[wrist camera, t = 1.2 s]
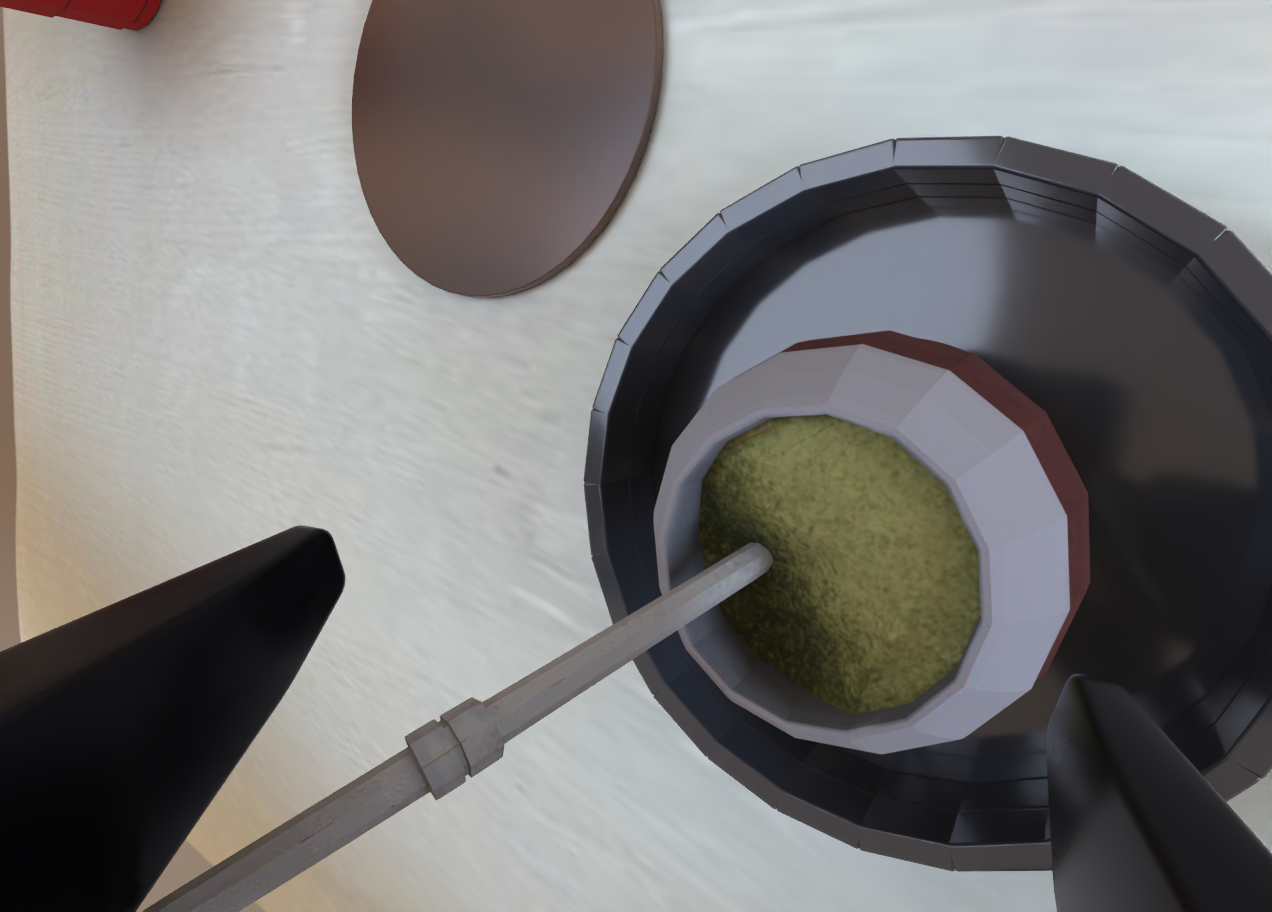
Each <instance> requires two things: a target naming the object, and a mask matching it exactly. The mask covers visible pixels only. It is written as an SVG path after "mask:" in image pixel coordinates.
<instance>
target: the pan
mask: <svg viewBox="0 0 1272 912" xmlns="http://www.w3.org/2000/svg"><path fill="white" fill-rule="evenodd" d="M888 330H890V331H894V332H897V333H901V334H904V335H908V336H911V337H915V338H921V339H926V340H932V341H937V342H940V343H944V344H947V345H951V346H954V347H956V348H959V349H961V350H964V351H967V352H969V353H972V354H975V355H977V356H978V357H979V358H980V359H981V360H983V361H984V362H985V363H986V364H988V365H989V366H990V367H991V368H992V369H994V370H995V371H996V372H997V373H999V374H1000V375H1001V376H1002V377H1003V378H1005V379H1006V380H1007V381H1008V382H1009V383H1011V384H1012V385H1013V386H1014V387H1016V388H1017V389H1018V390H1019V391H1021V392H1022V393H1023V394H1024V395H1026V396H1027V397H1028V398H1029V399H1031V400H1032V401H1033V402H1034V403H1036V404H1037V405H1038V406H1039V407H1041V408H1042V409H1043V410H1044V411H1046V413H1047V415H1048V417H1049V419H1050V421H1051V423H1052V424H1053V426H1054V428H1055V430H1056V432H1057V434H1058V436H1059V438H1060V440H1061V442H1062V444H1063V446H1064V448H1065V449H1066V451H1067V453H1068V455H1069V457H1070V459H1071V461H1072V463H1073V465H1074V467H1075V469H1076V471H1077V473H1078V475H1079V476H1080V478H1081V480H1082V482H1083V484H1084V486H1085V488H1086V490H1087V492H1088V507H1089V547H1090V584H1089V586H1088V588H1087V591H1086V593H1085V595H1084V597H1083V600H1082V602H1081V604H1080V606H1079V608H1078V610H1077V612H1076V614H1075V616H1074V618H1073V620H1072V622H1071V624H1070V626H1069V628H1068V630H1067V632H1066V634H1065V636H1064V638H1063V640H1062V642H1061V644H1060V646H1059V648H1058V650H1057V652H1056V654H1055V656H1054V658H1053V660H1052V662H1051V664H1050V666H1049V668H1048V670H1047V672H1046V673H1045V674H1044V675H1043V676H1041V677H1040V678H1038V679H1037V680H1036V681H1035V682H1034V685H1033V687H1032V689H1030V690H1029V691H1028V692H1026V693H1025V694H1024V695H1022V696H1021V697H1019V698H1018V699H1017V700H1015V701H1014V702H1013V703H1011V704H1010V705H1009V706H1007V707H1006V708H1004V709H1003V710H1002V711H1000V712H999V713H998V714H996V715H995V716H994V717H992V718H991V719H989V720H988V721H987V722H985V723H984V724H983V725H981V726H980V727H979V728H977V729H976V730H974V731H973V732H972V733H970V734H969V735H968V736H966V737H965V738H963V739H960V740H954V741H949V742H944V743H939V744H934V745H928V746H923V747H918V748H913V749H907V750H902V751H897V752H892V753H887V754H877V753H872V752H866V751H861V750H856V749H851V748H845V747H840V746H835V745H830V744H824V743H819V742H814V741H809V740H804V739H798V738H794V737H793V736H791V735H789V734H787V733H786V732H784V731H782V730H781V729H779V728H777V727H775V726H774V725H772V724H770V723H769V722H767V721H765V720H763V719H762V718H760V717H758V716H757V715H755V714H753V713H751V712H750V711H748V710H746V709H745V708H743V707H741V706H739V705H738V704H736V703H734V702H733V701H731V700H730V699H729V698H728V697H727V696H726V695H725V694H724V693H723V692H722V690H721V689H720V688H719V687H718V686H717V685H716V684H715V682H714V681H713V680H712V679H711V678H710V677H709V675H708V674H707V673H706V672H705V671H704V670H703V669H702V667H701V666H700V665H699V664H698V663H697V662H696V660H695V659H694V658H693V657H692V656H691V655H690V654H689V652H688V651H687V650H686V649H685V646H684V644H683V642H682V640H681V637H680V635H679V633H678V630H677V631H675V632H674V633H672V634H671V635H669V636H668V637H666V638H665V639H663V640H662V641H660V642H658V643H657V644H655V645H654V646H652V647H651V648H649V649H648V650H646V651H645V652H643V653H642V654H640V655H639V656H637V657H635V658H634V659H632V660H633V661H634V663H635V665H636V667H637V668H638V670H639V672H640V674H641V676H642V677H643V679H644V681H645V683H646V684H647V686H648V688H649V690H650V691H651V693H652V694H653V695H654V698H655V699H656V700H657V701H658V702H659V704H660V705H661V706H662V707H663V708H664V709H665V710H666V712H667V713H668V714H669V715H670V716H671V717H672V718H673V720H674V721H675V722H676V723H677V724H678V725H679V726H680V728H681V729H682V730H683V731H684V732H685V733H686V734H687V736H688V737H689V738H690V739H691V740H692V741H693V742H694V744H695V745H696V746H697V747H698V748H699V749H700V751H701V752H702V753H703V754H704V755H705V756H706V757H707V756H708V759H709V760H711V761H712V762H713V763H714V764H716V765H717V766H718V767H720V768H721V769H722V770H724V771H725V772H726V773H728V774H729V775H730V776H732V777H733V778H734V779H735V780H737V781H738V782H739V783H741V784H742V785H743V786H745V787H746V788H747V789H749V790H750V791H751V792H753V793H754V794H755V795H756V796H758V797H759V798H760V799H762V800H763V801H764V802H766V803H767V804H768V805H770V806H771V807H772V808H774V809H777V811H779V812H781V813H783V814H785V815H787V816H789V817H791V818H794V819H796V820H798V821H800V822H802V823H804V824H806V825H808V826H810V827H812V828H815V829H817V830H819V831H821V832H823V833H825V834H827V835H829V836H831V837H833V838H836V839H838V840H840V841H842V842H844V843H846V844H848V845H850V846H852V847H854V848H857V849H858V848H860V850H862V851H866V852H871V853H875V854H879V855H884V856H888V857H892V858H897V859H901V860H905V861H910V862H914V863H919V864H923V865H927V866H932V867H936V868H940V869H945V870H949V871H955V870H956V871H1047V870H1053V868H1052V850H1051V832H1050V814H1049V796H1048V777H1047V759H1046V733H1047V727H1048V723H1049V721H1050V718H1051V716H1052V714H1053V711H1054V709H1055V707H1056V705H1057V702H1058V700H1059V698H1060V695H1061V693H1062V691H1063V688H1064V686H1065V684H1066V682H1067V680H1068V679H1069V678H1070V677H1071V676H1072V675H1074V674H1084V675H1089V676H1095V677H1100V678H1105V679H1110V680H1114V681H1116V682H1118V683H1119V684H1121V685H1122V686H1123V687H1124V688H1125V689H1126V690H1127V691H1128V692H1129V693H1130V694H1131V695H1132V697H1133V698H1134V699H1135V700H1136V701H1137V702H1138V703H1139V704H1140V706H1141V707H1142V708H1143V709H1144V710H1145V711H1146V712H1147V713H1148V715H1149V716H1150V717H1151V718H1152V719H1153V720H1154V721H1155V723H1156V724H1157V725H1158V726H1159V727H1160V728H1161V729H1162V730H1163V732H1164V733H1165V734H1166V735H1167V736H1168V737H1169V738H1170V739H1171V741H1172V742H1173V743H1174V744H1175V745H1176V746H1177V747H1178V749H1179V750H1180V751H1181V752H1182V753H1183V754H1184V755H1185V756H1186V758H1187V759H1188V760H1189V761H1190V762H1191V763H1192V764H1193V765H1194V767H1195V768H1196V769H1197V770H1198V771H1199V772H1200V773H1201V775H1202V776H1203V777H1204V778H1205V779H1206V780H1207V781H1208V782H1209V784H1210V785H1211V786H1212V787H1213V788H1214V789H1215V790H1216V791H1217V793H1218V794H1219V795H1220V796H1221V797H1222V798H1223V799H1224V800H1225V802H1227V801H1229V800H1230V799H1232V798H1233V797H1235V796H1236V795H1238V794H1240V793H1241V792H1243V791H1244V790H1246V789H1247V788H1249V787H1251V786H1252V785H1254V784H1255V783H1257V782H1258V781H1259V780H1260V778H1264V777H1265V776H1266V775H1267V774H1268V772H1269V771H1270V770H1271V769H1272V274H1271V273H1270V272H1269V271H1268V270H1267V269H1266V268H1265V267H1264V266H1263V264H1262V263H1261V262H1260V261H1259V260H1258V259H1257V258H1256V257H1255V256H1254V255H1253V253H1252V252H1251V251H1250V250H1249V249H1248V248H1247V247H1246V246H1245V245H1244V244H1243V243H1242V241H1241V240H1240V239H1239V238H1238V237H1237V236H1236V235H1235V234H1234V233H1233V232H1232V231H1230V230H1227V227H1226V226H1225V225H1223V224H1222V223H1220V222H1218V221H1217V220H1215V219H1213V218H1211V217H1210V216H1208V215H1206V214H1205V213H1203V212H1201V211H1199V210H1198V209H1196V208H1194V207H1193V206H1191V205H1189V204H1187V203H1186V202H1184V201H1182V200H1181V199H1179V198H1177V197H1175V196H1174V195H1172V194H1170V193H1169V192H1167V191H1165V190H1163V189H1162V188H1160V187H1158V186H1156V185H1155V184H1153V183H1151V182H1150V181H1148V180H1146V179H1144V178H1143V177H1141V176H1139V175H1138V174H1136V173H1134V172H1132V171H1131V170H1129V169H1127V168H1126V167H1124V166H1120V167H1118V165H1117V164H1116V163H1112V162H1108V161H1104V160H1100V159H1096V158H1092V157H1088V156H1084V155H1080V154H1076V153H1072V152H1068V151H1064V150H1060V149H1056V148H1052V147H1048V146H1044V145H1040V144H1036V143H1032V142H1028V141H1024V140H1020V139H1016V138H1012V137H1005V138H1004V137H1002V136H970V137H922V138H898V139H896V140H895V139H889V140H886V141H882V142H879V143H875V144H872V145H868V146H865V147H861V148H858V149H854V150H851V151H847V152H844V153H840V154H837V155H833V156H830V157H826V158H822V159H819V160H815V161H812V162H808V163H805V164H801V165H800V166H797V167H795V168H793V169H791V170H790V171H788V172H786V173H784V174H783V175H781V176H779V177H778V178H776V179H774V180H772V181H771V182H769V183H767V184H766V185H764V186H762V187H760V188H759V189H757V190H755V191H753V192H752V193H750V194H748V195H747V196H745V197H743V198H741V199H740V200H738V201H736V202H735V203H733V204H731V205H729V206H728V207H726V208H724V209H722V210H721V211H720V213H718V214H717V215H715V216H714V217H713V218H712V219H711V220H710V221H709V222H708V223H707V224H706V225H705V226H704V227H703V228H702V229H701V230H700V231H699V232H698V233H697V234H696V235H695V236H694V237H693V238H692V239H691V240H690V241H689V242H688V243H687V244H686V245H685V246H683V247H682V248H681V249H680V250H679V251H678V252H677V253H676V254H675V255H674V256H673V257H672V258H671V259H670V260H669V261H668V262H667V263H666V264H665V265H664V266H663V267H662V268H661V269H660V271H659V272H658V273H657V274H656V276H655V277H654V279H653V280H652V282H651V284H650V285H649V287H648V288H647V290H646V291H645V293H644V295H643V296H642V298H641V299H640V301H639V303H638V304H637V306H636V307H635V309H634V310H633V312H632V314H631V315H630V317H629V318H628V320H627V322H626V323H625V325H624V326H623V328H622V329H621V331H620V333H619V334H618V338H617V339H616V340H615V343H614V346H613V349H612V352H611V355H610V358H609V360H608V363H607V366H606V369H605V372H604V375H603V378H602V381H601V384H600V386H599V389H598V392H597V395H596V398H595V401H594V404H593V410H592V411H591V419H590V428H589V437H588V446H587V455H586V464H585V473H584V482H585V483H584V491H585V501H586V510H587V520H588V529H589V539H590V548H591V554H592V555H593V556H592V561H593V564H594V567H595V570H596V573H597V576H598V579H599V582H600V585H601V588H602V592H603V595H604V598H605V601H606V604H607V607H608V610H609V613H610V616H611V619H612V622H613V625H614V624H615V623H617V622H619V621H620V620H622V619H624V618H625V617H627V616H629V615H630V614H632V613H634V612H635V611H637V610H639V609H640V608H642V607H644V606H645V605H647V604H649V603H650V602H652V601H654V600H655V599H657V598H659V597H660V596H662V593H661V591H660V587H659V577H658V566H657V555H656V544H655V533H654V522H653V521H654V509H655V505H656V501H657V498H658V494H659V491H660V487H661V483H662V480H663V476H664V472H665V469H666V465H667V461H668V458H669V454H670V451H671V447H672V445H673V444H674V442H675V441H676V440H677V439H678V437H679V436H680V435H681V433H682V432H683V431H684V429H685V428H686V427H687V426H688V424H689V423H690V422H691V420H692V419H693V418H694V416H695V415H696V414H697V413H698V411H699V410H700V409H701V407H702V406H703V405H704V403H705V402H706V401H707V400H708V398H709V397H710V396H711V394H712V393H713V392H714V390H715V389H716V388H718V387H720V386H721V385H723V384H725V383H727V382H729V381H730V380H732V379H733V378H735V377H736V376H738V375H740V374H742V373H744V372H745V371H747V370H749V369H751V368H752V367H754V366H756V365H758V364H760V363H761V362H763V361H765V360H767V359H769V358H770V357H772V356H774V355H776V354H777V353H779V352H781V351H783V350H785V349H786V348H788V347H790V346H792V345H793V344H795V343H798V342H803V341H808V340H814V339H822V338H830V337H839V336H847V335H855V334H864V333H872V332H880V331H888Z"/></svg>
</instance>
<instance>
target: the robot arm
mask: <svg viewBox="0 0 1272 912" xmlns="http://www.w3.org/2000/svg"><path fill="white" fill-rule="evenodd" d="M344 586H345V573H344V569H343V566H342V563H341V560H340V557H339V555H338V552H337V549H336V546H335V543H334V540H333V537H332V535H331V534H330V533H329V532H328V531H326V530H324V529H320V528H315V527H310V526H295V527H293V528H290V529H288V530H286V531H283V532H281V533H278V534H276V535H274V536H271V537H269V538H267V539H264V540H262V541H260V542H257V543H255V544H253V545H250V546H248V547H246V548H243V549H241V550H239V551H236V552H234V553H231V554H229V555H227V556H224V557H222V558H220V559H217V560H215V561H213V562H210V563H208V564H206V565H203V566H201V567H199V568H196V569H194V570H191V571H189V572H187V573H184V574H182V575H180V576H177V577H175V578H173V579H170V580H168V581H166V582H163V583H161V584H159V585H156V586H154V587H152V588H149V589H147V590H144V591H142V592H140V593H137V594H135V595H133V596H130V597H128V598H126V599H123V600H121V601H119V602H116V603H114V604H112V605H109V606H107V607H104V608H102V609H100V610H97V611H95V612H93V613H90V614H88V615H86V616H83V617H81V618H79V619H76V620H74V621H72V622H69V623H67V624H65V625H62V626H60V627H57V628H55V629H53V630H50V631H48V632H46V633H43V634H41V635H39V636H36V637H34V638H32V639H29V640H27V641H25V642H22V643H20V644H18V645H15V646H13V647H10V648H8V649H6V650H3V651H1V652H0V912H136V910H137V909H138V908H139V906H140V905H141V903H142V902H143V900H144V899H145V897H146V896H147V894H148V893H149V892H150V890H151V889H152V887H153V886H154V884H155V883H156V881H157V880H158V878H159V877H160V876H161V874H162V873H163V871H164V870H165V868H166V867H167V865H168V864H169V862H170V861H171V859H172V858H173V856H174V855H175V854H176V852H177V851H178V849H179V848H180V846H181V845H182V843H183V842H184V841H185V839H186V838H187V836H188V835H189V833H190V832H191V830H192V829H193V827H194V826H195V825H196V823H197V822H198V820H199V819H200V817H201V816H202V814H203V813H204V811H205V810H206V809H207V807H208V806H209V804H210V803H211V801H212V800H213V798H214V797H215V795H216V794H217V793H218V791H219V790H220V788H221V787H222V785H223V784H224V782H225V781H226V779H227V778H228V777H229V775H230V774H231V772H232V771H233V769H234V768H235V766H236V765H237V763H238V762H239V761H240V759H241V758H242V756H243V755H244V753H245V752H246V750H247V749H248V747H249V746H250V745H251V743H252V742H253V740H254V739H255V737H256V736H257V734H258V733H259V731H260V730H261V728H262V727H263V726H264V724H265V723H266V721H267V720H268V718H269V717H270V715H271V714H272V712H273V711H274V710H275V708H276V707H277V705H278V704H279V702H280V701H281V699H282V698H283V696H284V695H285V693H286V691H287V690H288V688H289V687H290V685H291V683H292V682H293V680H294V678H295V676H296V675H297V673H298V671H299V669H300V668H301V666H302V664H303V662H304V660H305V659H306V657H307V655H308V653H309V651H310V650H311V648H312V646H313V644H314V642H315V641H316V639H317V637H318V635H319V633H320V632H321V630H322V628H323V626H324V625H325V623H326V621H327V619H328V617H329V616H330V614H331V612H332V610H333V608H334V607H335V605H336V603H337V601H338V599H339V598H340V596H341V594H342V592H343V589H344ZM1046 759H1047V777H1048V796H1049V814H1050V832H1051V850H1052V868H1053V881H1054V893H1055V900H1056V907H1057V912H1272V854H1271V852H1270V851H1269V850H1268V849H1267V848H1266V847H1265V846H1264V845H1263V843H1262V842H1261V841H1260V840H1259V839H1258V838H1257V837H1256V836H1255V834H1254V833H1253V832H1252V831H1251V830H1250V829H1249V828H1248V826H1247V825H1246V824H1245V823H1244V822H1243V821H1242V820H1241V819H1240V817H1239V816H1238V815H1237V814H1236V813H1235V812H1234V811H1233V810H1232V808H1231V807H1230V806H1229V805H1228V804H1227V803H1226V802H1225V800H1224V799H1223V798H1222V797H1221V796H1220V795H1219V794H1218V793H1217V791H1216V790H1215V789H1214V788H1213V787H1212V786H1211V785H1210V784H1209V782H1208V781H1207V780H1206V779H1205V778H1204V777H1203V776H1202V775H1201V773H1200V772H1199V771H1198V770H1197V769H1196V768H1195V767H1194V765H1193V764H1192V763H1191V762H1190V761H1189V760H1188V759H1187V758H1186V756H1185V755H1184V754H1183V753H1182V752H1181V751H1180V750H1179V749H1178V747H1177V746H1176V745H1175V744H1174V743H1173V742H1172V741H1171V739H1170V738H1169V737H1168V736H1167V735H1166V734H1165V733H1164V732H1163V730H1162V729H1161V728H1160V727H1159V726H1158V725H1157V724H1156V723H1155V721H1154V720H1153V719H1152V718H1151V717H1150V716H1149V715H1148V713H1147V712H1146V711H1145V710H1144V709H1143V708H1142V707H1141V706H1140V704H1139V703H1138V702H1137V701H1136V700H1135V699H1134V698H1133V697H1132V695H1131V694H1130V693H1129V692H1128V691H1127V690H1126V689H1125V688H1124V687H1123V686H1122V685H1121V684H1119V683H1118V682H1116V681H1114V680H1110V679H1105V678H1100V677H1095V676H1089V675H1084V674H1074V675H1072V676H1071V677H1070V678H1069V679H1068V680H1067V682H1066V684H1065V686H1064V688H1063V691H1062V693H1061V695H1060V698H1059V700H1058V702H1057V705H1056V707H1055V709H1054V711H1053V714H1052V716H1051V718H1050V721H1049V723H1048V727H1047V733H1046Z"/></svg>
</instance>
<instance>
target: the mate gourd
mask: <svg viewBox="0 0 1272 912" xmlns="http://www.w3.org/2000/svg"><path fill="white" fill-rule="evenodd" d="M653 522H654V533H655V544H656V555H657V566H658V577H659V587H660V591H661V593H662V596H660V597H659V598H657V599H655V600H654V601H652V602H650V603H649V604H647V605H645V606H644V607H642V608H640V609H639V610H637V611H635V612H634V613H632V614H630V615H629V616H627V617H625V618H624V619H622V620H620V621H619V622H617V623H615V624H614V625H612V626H610V627H608V628H607V629H605V630H603V631H602V632H600V633H598V634H597V635H595V636H593V637H592V638H590V639H588V640H587V641H585V642H583V643H582V644H580V645H578V646H577V647H575V648H573V649H572V650H570V651H568V652H567V653H565V654H563V655H562V656H560V657H558V658H556V659H555V660H553V661H551V662H550V663H548V664H546V665H545V666H543V667H541V668H540V669H538V670H536V671H535V672H533V673H531V674H529V675H528V676H526V677H524V678H523V679H521V680H519V681H518V682H516V683H514V684H513V685H511V686H509V687H508V688H506V689H504V690H502V691H501V692H499V693H497V694H496V695H494V696H492V697H491V698H489V699H487V700H486V701H484V702H480V701H478V700H476V699H474V698H472V697H471V698H470V699H468V700H466V701H464V702H463V703H461V704H459V705H458V706H456V707H454V708H453V709H451V710H449V711H447V712H446V713H444V714H442V715H441V716H440V719H441V721H440V722H437V721H436V720H432V721H430V722H428V723H427V724H425V725H423V726H422V727H420V728H418V729H417V730H415V731H413V732H412V733H410V734H408V735H407V736H405V740H406V742H407V745H408V747H407V748H406V749H404V750H403V751H401V752H399V753H398V754H396V755H395V756H393V757H391V758H390V759H388V760H386V761H385V762H383V763H382V764H380V765H378V766H377V767H375V768H373V769H372V770H370V771H368V772H367V773H365V774H364V775H362V776H360V777H359V778H357V779H355V780H354V781H352V782H351V783H349V784H347V785H346V786H344V787H342V788H341V789H339V790H337V791H336V792H334V793H333V794H331V795H329V796H328V797H326V798H324V799H323V800H321V801H319V802H318V803H316V804H315V805H313V806H311V807H310V808H308V809H306V810H305V811H303V812H302V813H300V814H298V815H297V816H295V817H293V818H292V819H290V820H289V821H287V822H285V823H284V824H282V825H281V826H279V827H277V828H276V829H274V830H272V831H271V832H269V833H268V834H266V835H264V836H263V837H261V838H259V839H258V840H256V841H255V842H253V843H251V844H250V845H248V846H246V847H245V848H243V849H242V850H240V851H238V852H237V853H235V854H234V855H232V856H230V857H229V858H227V859H225V860H224V861H222V862H221V863H219V864H217V865H216V866H214V867H212V868H211V869H209V870H208V871H206V872H204V873H203V874H201V875H200V876H198V877H196V878H195V879H193V880H192V881H190V882H189V883H187V884H185V885H183V886H182V887H180V888H178V889H177V890H175V891H174V892H172V893H170V894H169V895H167V896H166V897H164V898H163V899H161V900H159V901H158V902H156V903H155V904H153V905H152V906H150V907H148V908H147V909H145V910H144V911H143V912H238V911H240V910H242V909H243V908H245V907H247V906H248V905H250V904H251V903H253V902H255V901H256V900H258V899H260V898H261V897H263V896H264V895H266V894H268V893H269V892H271V891H272V890H274V889H276V888H277V887H279V886H280V885H282V884H284V883H285V882H287V881H289V880H290V879H292V878H293V877H295V876H297V875H298V874H300V873H301V872H303V871H305V870H306V869H308V868H309V867H311V866H313V865H314V864H316V863H317V862H319V861H321V860H322V859H324V858H326V857H327V856H329V855H330V854H332V853H333V852H335V851H337V850H338V849H340V848H341V847H343V846H345V845H346V844H348V843H349V842H351V841H353V840H354V839H356V838H357V837H359V836H360V835H362V834H364V833H365V832H367V831H368V830H370V829H372V828H373V827H375V826H376V825H378V824H380V823H381V822H383V821H384V820H386V819H387V818H389V817H391V816H392V815H394V814H395V813H397V812H399V811H400V810H402V809H403V808H405V807H406V806H408V805H410V804H411V803H413V802H414V801H416V800H418V799H419V798H421V797H422V796H424V795H425V794H427V793H429V792H431V793H432V795H433V796H434V798H435V800H438V799H440V798H441V797H443V796H444V795H446V794H447V793H449V792H451V791H452V790H454V789H455V788H457V787H458V786H460V785H461V784H463V783H464V782H466V780H465V776H466V775H469V776H470V777H473V776H475V775H476V774H478V773H479V772H481V771H482V770H484V769H485V768H487V767H488V766H490V765H491V764H493V763H494V762H496V761H497V760H499V759H500V758H502V757H503V750H504V744H505V743H506V742H508V741H509V740H511V739H512V738H514V737H515V736H517V735H518V734H520V733H521V732H523V731H524V730H526V729H527V728H529V727H530V726H532V725H533V724H535V723H536V722H538V721H539V720H541V719H542V718H544V717H545V716H547V715H548V714H550V713H552V712H553V711H555V710H556V709H558V708H559V707H561V706H562V705H564V704H565V703H567V702H568V701H570V700H571V699H573V698H574V697H576V696H577V695H579V694H580V693H582V692H583V691H585V690H587V689H588V688H590V687H591V686H593V685H594V684H596V683H597V682H599V681H600V680H602V679H603V678H605V677H606V676H608V675H609V674H611V673H613V672H614V671H616V670H617V669H619V668H620V667H622V666H623V665H625V664H626V663H628V662H629V661H631V660H632V659H634V658H635V657H637V656H639V655H640V654H642V653H643V652H645V651H646V650H648V649H649V648H651V647H652V646H654V645H655V644H657V643H658V642H660V641H662V640H663V639H665V638H666V637H668V636H669V635H671V634H672V633H674V632H675V631H677V630H678V633H679V635H680V637H681V640H682V642H683V644H684V646H685V649H686V650H687V651H688V652H689V654H690V655H691V656H692V657H693V658H694V659H695V660H696V662H697V663H698V664H699V665H700V666H701V667H702V669H703V670H704V671H705V672H706V673H707V674H708V675H709V677H710V678H711V679H712V680H713V681H714V682H715V684H716V685H717V686H718V687H719V688H720V689H721V690H722V692H723V693H724V694H725V695H726V696H727V697H728V698H729V699H730V700H731V701H733V702H734V703H736V704H738V705H739V706H741V707H743V708H745V709H746V710H748V711H750V712H751V713H753V714H755V715H757V716H758V717H760V718H762V719H763V720H765V721H767V722H769V723H770V724H772V725H774V726H775V727H777V728H779V729H781V730H782V731H784V732H786V733H787V734H789V735H791V736H793V737H794V738H798V739H804V740H809V741H814V742H819V743H824V744H830V745H835V746H840V747H845V748H851V749H856V750H861V751H866V752H872V753H877V754H887V753H892V752H897V751H902V750H907V749H913V748H918V747H923V746H928V745H934V744H939V743H944V742H949V741H954V740H960V739H963V738H965V737H966V736H968V735H969V734H970V733H972V732H973V731H974V730H976V729H977V728H979V727H980V726H981V725H983V724H984V723H985V722H987V721H988V720H989V719H991V718H992V717H994V716H995V715H996V714H998V713H999V712H1000V711H1002V710H1003V709H1004V708H1006V707H1007V706H1009V705H1010V704H1011V703H1013V702H1014V701H1015V700H1017V699H1018V698H1019V697H1021V696H1022V695H1024V694H1025V693H1026V692H1028V691H1029V690H1030V689H1032V687H1033V685H1034V682H1035V681H1036V680H1037V679H1038V678H1040V677H1041V676H1043V675H1044V674H1045V673H1046V672H1047V670H1048V668H1049V666H1050V664H1051V662H1052V660H1053V658H1054V656H1055V654H1056V652H1057V650H1058V648H1059V646H1060V644H1061V642H1062V640H1063V638H1064V636H1065V634H1066V632H1067V630H1068V628H1069V626H1070V624H1071V622H1072V620H1073V618H1074V616H1075V614H1076V612H1077V610H1078V608H1079V606H1080V604H1081V602H1082V600H1083V597H1084V595H1085V593H1086V591H1087V588H1088V586H1089V584H1090V547H1089V507H1088V492H1087V490H1086V488H1085V486H1084V484H1083V482H1082V480H1081V478H1080V476H1079V475H1078V473H1077V471H1076V469H1075V467H1074V465H1073V463H1072V461H1071V459H1070V457H1069V455H1068V453H1067V451H1066V449H1065V448H1064V446H1063V444H1062V442H1061V440H1060V438H1059V436H1058V434H1057V432H1056V430H1055V428H1054V426H1053V424H1052V423H1051V421H1050V419H1049V417H1048V415H1047V413H1046V411H1044V410H1043V409H1042V408H1041V407H1039V406H1038V405H1037V404H1036V403H1034V402H1033V401H1032V400H1031V399H1029V398H1028V397H1027V396H1026V395H1024V394H1023V393H1022V392H1021V391H1019V390H1018V389H1017V388H1016V387H1014V386H1013V385H1012V384H1011V383H1009V382H1008V381H1007V380H1006V379H1005V378H1003V377H1002V376H1001V375H1000V374H999V373H997V372H996V371H995V370H994V369H992V368H991V367H990V366H989V365H988V364H986V363H985V362H984V361H983V360H981V359H980V358H979V357H978V356H977V355H975V354H972V353H969V352H967V351H964V350H961V349H959V348H956V347H954V346H951V345H947V344H944V343H940V342H937V341H932V340H926V339H921V338H915V337H911V336H908V335H904V334H901V333H897V332H894V331H890V330H888V331H880V332H872V333H864V334H855V335H847V336H839V337H830V338H822V339H814V340H808V341H803V342H798V343H795V344H793V345H792V346H790V347H788V348H786V349H785V350H783V351H781V352H779V353H777V354H776V355H774V356H772V357H770V358H769V359H767V360H765V361H763V362H761V363H760V364H758V365H756V366H754V367H752V368H751V369H749V370H747V371H745V372H744V373H742V374H740V375H738V376H736V377H735V378H733V379H732V380H730V381H729V382H727V383H725V384H723V385H721V386H720V387H718V388H716V389H715V390H714V392H713V393H712V394H711V396H710V397H709V398H708V400H707V401H706V402H705V403H704V405H703V406H702V407H701V409H700V410H699V411H698V413H697V414H696V415H695V416H694V418H693V419H692V420H691V422H690V423H689V424H688V426H687V427H686V428H685V429H684V431H683V432H682V433H681V435H680V436H679V437H678V439H677V440H676V441H675V442H674V444H673V445H672V447H671V451H670V454H669V458H668V461H667V465H666V469H665V472H664V476H663V480H662V483H661V487H660V491H659V494H658V498H657V501H656V505H655V509H654V521H653Z"/></svg>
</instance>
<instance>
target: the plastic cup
mask: <svg viewBox="0 0 1272 912" xmlns="http://www.w3.org/2000/svg"><path fill="white" fill-rule="evenodd" d="M160 3H161V0H0V6H1V7H5V8H10V9H15V10H19V11H24V12H29V13H33V14H38V15H43V16H47V17H54V16H59V17H64V18H68V19H73V20H78V21H82V22H87V23H92V24H96V25H101V26H106V27H111V28H115V29H120V30H121V29H123V28H127V29H131V30H136V31H137V30H139V29H140V28H142V27H144V26H146V25H148V24H149V22H150V21H151V19H152V18H153V16H154V15H155V13H156V12H157V10H158V9H159V6H160Z"/></svg>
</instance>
